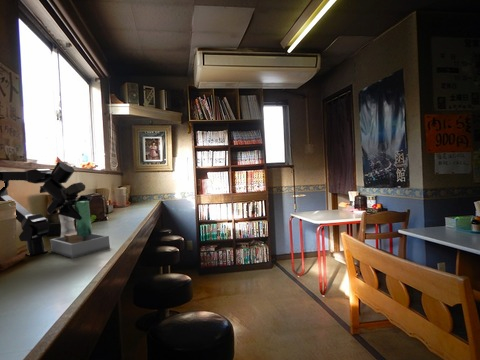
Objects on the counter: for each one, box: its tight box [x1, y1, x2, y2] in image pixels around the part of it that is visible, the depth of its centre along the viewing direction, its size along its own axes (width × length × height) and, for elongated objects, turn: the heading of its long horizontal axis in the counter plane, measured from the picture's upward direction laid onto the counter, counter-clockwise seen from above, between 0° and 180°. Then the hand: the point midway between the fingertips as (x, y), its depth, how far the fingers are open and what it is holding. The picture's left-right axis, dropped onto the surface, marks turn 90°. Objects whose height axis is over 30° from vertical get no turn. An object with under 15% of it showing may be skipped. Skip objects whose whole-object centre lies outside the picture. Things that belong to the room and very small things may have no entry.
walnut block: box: [64, 231, 83, 244], centre depth 122 cm, size 5×5×5 cm
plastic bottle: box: [57, 208, 77, 237], centre depth 137 cm, size 6×7×20 cm
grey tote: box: [49, 232, 111, 259], centre depth 119 cm, size 22×14×5 cm, turn 50°
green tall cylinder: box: [74, 201, 93, 236], centre depth 114 cm, size 5×5×13 cm
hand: (85, 217), depth 114 cm, fingers closed on green tall cylinder, 5 cm apart
